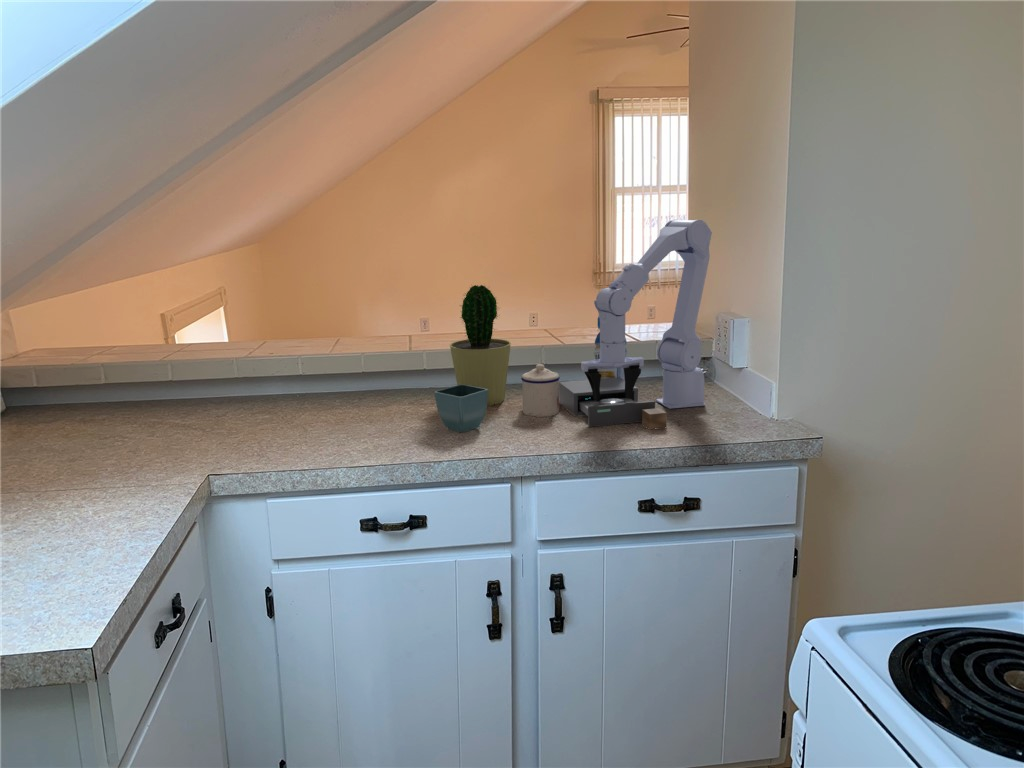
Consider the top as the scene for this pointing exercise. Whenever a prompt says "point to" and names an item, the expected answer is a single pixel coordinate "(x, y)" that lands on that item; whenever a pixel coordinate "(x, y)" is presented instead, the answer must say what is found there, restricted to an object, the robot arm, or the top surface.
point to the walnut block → (654, 418)
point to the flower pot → (461, 406)
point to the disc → (611, 401)
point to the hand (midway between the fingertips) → (612, 399)
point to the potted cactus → (481, 347)
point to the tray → (614, 411)
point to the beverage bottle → (604, 372)
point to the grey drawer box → (582, 389)
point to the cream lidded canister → (540, 392)
